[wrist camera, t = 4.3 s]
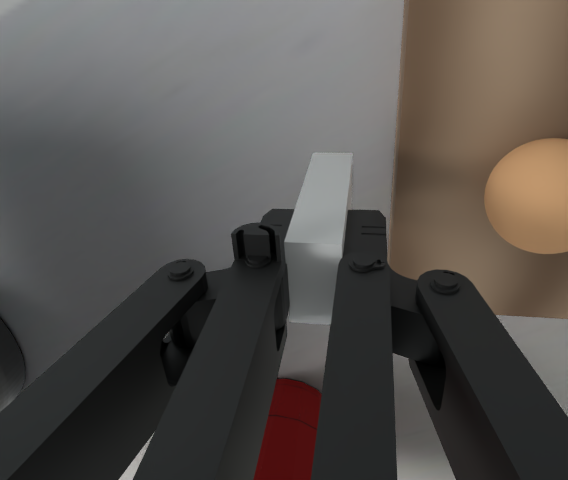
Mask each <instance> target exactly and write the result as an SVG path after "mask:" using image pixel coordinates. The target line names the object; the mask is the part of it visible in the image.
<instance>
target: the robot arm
mask: <svg viewBox="0 0 568 480" xmlns="http://www.w3.org/2000/svg"><path fill="white" fill-rule="evenodd" d="M352 174H353V153H313V154H312V157H311V160H310V163H309V167H308V170H307V173H306V176H305V179H304V182H303V185H302V188H301V191H300V194H299V198H298V201H297V204H296V207H295V209H272V210H270V211H269V212H268V213H266V214H265V215H264V216H263V218H262V220H261V222H260V223H250V224H246V225H243V226H241V227H239V228H237V229H235V230H234V231H233V232H232V233H231V237H232V244H233V251H234V259H235V260H234V262H233V264H232V266H231V267H230V268H228V269H223V270H219V271H212V272H206V270H205V266H204V265H203V264H202V263H201V262H199V261H196V260H190V259H182V260H176V261H174V262H171V263H168V264H166V265H165V266H163V267H162V268H160V269H159V270H158V271H157V272H156V273H155V274H154V275H153V276H152V277H150V278H149V279H148V280H147V281H146V282H145V283H144V284H143V285H141V286H140V287H139V288H138V289H137V290H136V291H135V292H134V293H133V294H131V295H130V296H129V297H128V298H127V299H126V300H125V301H124V302H123V303H121V304H120V305H119V306H118V307H117V308H116V309H115V310H114V311H112V312H111V313H110V314H109V315H108V316H107V317H106V318H105V319H104V320H102V321H101V322H100V323H99V324H98V325H97V326H96V327H95V328H94V329H92V330H91V331H90V332H89V333H88V334H87V335H86V336H85V337H83V338H82V339H81V340H80V341H79V342H78V343H77V344H76V345H75V346H73V347H72V348H71V349H70V350H69V351H68V352H67V353H66V354H64V355H63V356H62V357H61V358H60V359H59V360H58V361H57V362H56V363H54V364H53V365H52V366H51V367H50V368H49V369H48V370H47V371H46V372H44V373H43V374H42V375H41V376H40V377H39V378H38V379H37V380H35V381H34V382H33V383H32V384H31V385H30V386H29V387H28V388H27V389H25V390H24V391H23V392H22V393H21V394H20V395H19V396H18V397H17V395H18V394H19V393H20V391H21V389H22V387H23V384H24V380H25V366H24V361H23V357H22V354H21V352H20V349H19V347H18V345H17V343H16V341H15V339H14V338H13V336H12V334H11V333H10V331H9V330H8V328H7V327H6V326H5V324H4V323H3V322H2V321H1V319H0V480H118V479H119V478H120V477H121V476H122V474H123V473H124V472H125V470H126V469H127V468H128V466H129V465H130V464H131V462H132V461H133V460H134V458H135V457H136V456H137V454H138V453H139V452H140V450H141V449H142V448H143V446H144V445H145V444H146V442H147V441H148V440H149V438H150V437H151V436H152V434H153V433H154V432H155V433H154V435H153V437H152V439H151V441H150V444H149V446H148V448H147V450H146V452H145V454H144V456H143V459H142V461H141V463H140V465H139V467H138V469H137V472H136V474H135V476H134V478H133V480H253V479H254V475H255V471H256V466H257V462H258V458H259V453H260V449H261V445H262V440H263V436H264V432H265V427H266V423H267V419H268V415H269V410H270V406H271V402H272V397H273V393H274V389H275V384H276V380H277V376H278V371H279V367H280V363H281V359H282V354H283V350H284V346H285V341H286V337H287V326H286V319H287V315H288V311H289V321H290V322H291V323H306V324H320V325H330V333H329V341H328V349H327V356H326V364H325V372H324V380H323V388H322V395H321V403H320V411H319V419H318V427H317V434H316V442H315V450H314V458H313V465H312V473H311V480H397V462H396V435H395V408H394V381H393V354H392V353H395V354H398V355H401V356H404V357H407V358H409V364H410V368H411V370H412V372H413V375H414V377H415V380H416V382H417V385H418V387H419V390H420V392H421V395H422V397H423V400H424V402H425V404H426V407H427V409H428V412H429V414H430V417H431V419H432V422H433V424H434V427H435V429H436V431H437V434H438V436H439V439H440V441H441V444H442V446H443V449H444V451H445V454H446V456H447V459H448V461H449V463H450V466H451V468H452V471H453V473H454V476H455V478H456V480H568V417H567V415H566V414H565V412H564V411H563V410H562V408H561V407H560V405H559V404H558V403H557V401H556V400H555V398H554V397H553V396H552V394H551V393H550V391H549V390H548V389H547V387H546V386H545V384H544V383H543V382H542V380H541V379H540V377H539V376H538V374H537V373H536V372H535V370H534V369H533V367H532V366H531V365H530V363H529V362H528V360H527V359H526V358H525V356H524V355H523V353H522V352H521V351H520V349H519V348H518V346H517V345H516V344H515V342H514V341H513V339H512V338H511V336H510V335H509V334H508V332H507V331H506V329H505V328H504V327H503V325H502V324H501V322H500V321H499V320H498V318H497V317H496V315H495V314H494V313H493V311H492V310H491V308H490V307H489V306H488V304H487V303H486V301H485V300H484V299H483V297H482V296H481V294H480V293H479V291H478V290H477V289H476V287H475V286H474V284H473V283H472V282H471V281H470V280H469V279H468V278H467V277H466V276H464V275H462V274H460V273H457V272H454V271H450V270H439V269H435V270H431V271H426V272H425V273H423V274H422V275H420V276H419V278H418V280H414V279H410V278H407V277H404V276H402V275H400V274H398V273H396V272H395V271H393V270H392V269H391V268H390V266H389V264H388V261H387V239H386V218H385V217H384V216H383V214H382V213H381V212H380V211H379V210H352ZM168 332H169V335H168V336H167V337H166V338H165V339H164V337H165V335H166V334H167V333H168ZM163 339H164V340H163ZM16 397H17V398H16ZM155 430H156V431H155Z"/></svg>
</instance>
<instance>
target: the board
mask: <svg viewBox="0 0 568 480" xmlns="http://www.w3.org/2000/svg"><path fill="white" fill-rule="evenodd" d="M546 138H561V139H568V0H404V15H403V30H402V45H401V60H400V75H399V90H398V105H397V120H396V135H395V150H394V166H393V181H392V196H391V211H390V226H389V241H388V256H387V261H388V264H389V266H390V268H391V269H392V270H393V271H395V272H396V273H398V274H400V275H402V276H404V277H407V278H410V279H414V280H418V278H419V276H420V275H422V274H423V273H425V272H426V271H431V270H435V269H439V270H450V271H454V272H457V273H460V274H462V275H464V276H466V277H467V278H468V279H469V280H470V281H471V282H472V283H473V284H474V286H475V287H476V289H477V290H478V291H479V293H480V294H481V296H482V297H483V299H484V300H485V301H486V303H487V304H488V306H489V307H490V308H491V310H492V311H493V313H494V314H495V315H509V316H526V317H544V318H561V319H568V252H563V253H556V254H538V253H533V252H528V251H525V250H522V249H519V248H517V247H515V246H513V245H512V244H510V243H508V242H507V241H506V240H504V239H503V238H502V237H501V236H500V235H499V234H498V233H497V232H496V231H495V229H494V228H493V226H492V225H491V223H490V221H489V219H488V217H487V214H486V210H485V205H484V194H485V187H486V183H487V181H488V178H489V176H490V174H491V172H492V170H493V169H494V167H495V166H496V165H497V163H498V162H499V161H500V160H501V159H502V158H503V157H504V156H506V155H507V154H508V153H509V152H511V151H512V150H514V149H515V148H517V147H519V146H521V145H523V144H526V143H528V142H531V141H535V140H539V139H546Z"/></svg>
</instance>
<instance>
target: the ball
mask: <svg viewBox="0 0 568 480" xmlns="http://www.w3.org/2000/svg"><path fill="white" fill-rule="evenodd" d="M484 205H485V210H486V214H487V217H488V219H489V221H490V223H491V225H492V226H493V228H494V229H495V231H496V232H497V233H498V234H499V235H500V236H501V237H502V238H503V239H504V240H506V241H507V242H508V243H510V244H512V245H513V246H515V247H517V248H519V249H522V250H525V251H528V252H533V253H538V254H556V253H563V252H568V139H561V138H546V139H539V140H535V141H531V142H528V143H526V144H523V145H521V146H519V147H517V148H515V149H514V150H512V151H511V152H509V153H508V154H507V155H506V156H504V157H503V158H502V159H501V160H500V161H499V162H498V163H497V165H496V166H495V167H494V169H493V170H492V172H491V174H490V176H489V178H488V181H487V183H486V187H485V194H484Z"/></svg>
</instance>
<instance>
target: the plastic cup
mask: <svg viewBox="0 0 568 480" xmlns="http://www.w3.org/2000/svg"><path fill="white" fill-rule="evenodd" d="M321 395H322V394H321V393H320V392H319V391H318V390H317V389H315V388H313V387H311V386H309V385H307V384H305V383H303V382H299V381H295V380H290V379H277V380H276V384H275V389H274V393H273V397H272V402H271V406H270V410H269V415H268V419H267V423H266V427H265V432H264V436H263V440H262V445H261V449H260V453H259V458H258V462H257V466H256V471H255V475H254V479H253V480H311V473H312V465H313V458H314V450H315V442H316V434H317V427H318V419H319V411H320V403H321Z"/></svg>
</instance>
